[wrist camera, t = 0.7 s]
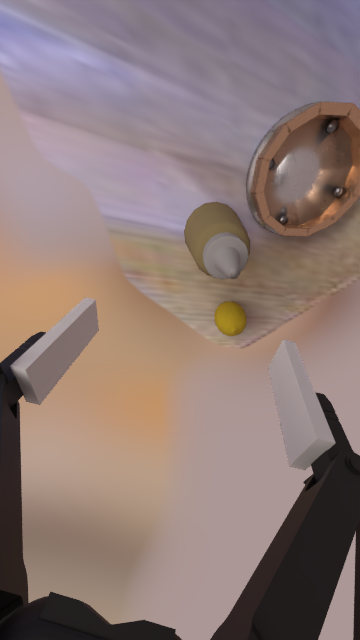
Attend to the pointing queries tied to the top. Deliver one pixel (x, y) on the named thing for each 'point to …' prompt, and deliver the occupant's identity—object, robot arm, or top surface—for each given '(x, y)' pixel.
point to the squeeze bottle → (217, 240)
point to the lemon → (230, 318)
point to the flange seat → (306, 169)
